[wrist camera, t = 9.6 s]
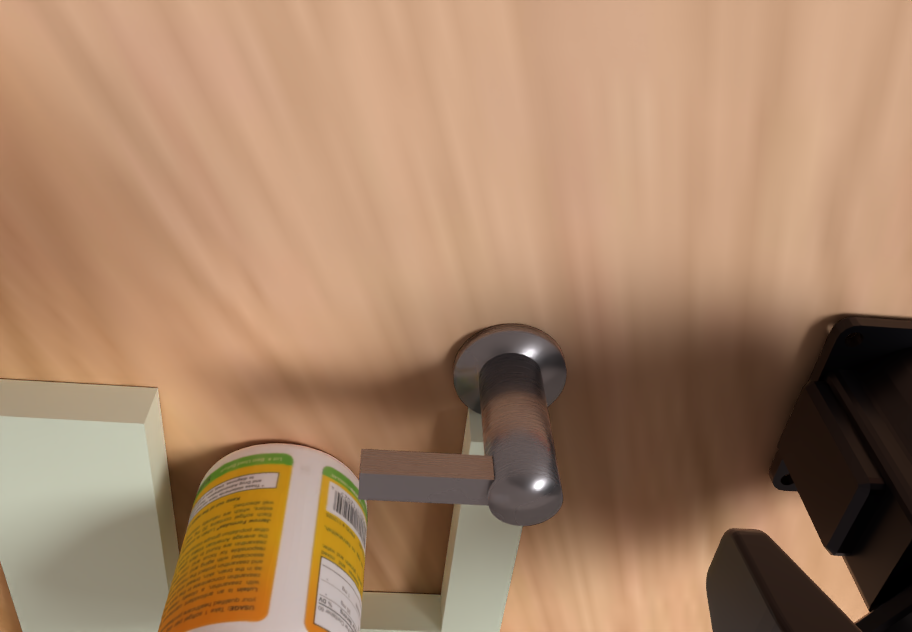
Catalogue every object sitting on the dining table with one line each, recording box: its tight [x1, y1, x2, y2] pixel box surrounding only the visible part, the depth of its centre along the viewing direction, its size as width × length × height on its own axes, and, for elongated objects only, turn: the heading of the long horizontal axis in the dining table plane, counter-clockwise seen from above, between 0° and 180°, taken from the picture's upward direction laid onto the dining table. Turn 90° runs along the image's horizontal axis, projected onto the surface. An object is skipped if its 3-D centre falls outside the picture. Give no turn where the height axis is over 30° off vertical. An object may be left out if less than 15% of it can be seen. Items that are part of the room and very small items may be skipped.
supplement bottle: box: [158, 443, 367, 632], centre depth 24 cm, size 5×5×10 cm
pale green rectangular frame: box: [0, 379, 523, 632], centre depth 30 cm, size 16×18×2 cm
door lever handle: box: [358, 324, 566, 526], centre depth 23 cm, size 6×3×5 cm, turn 84°
